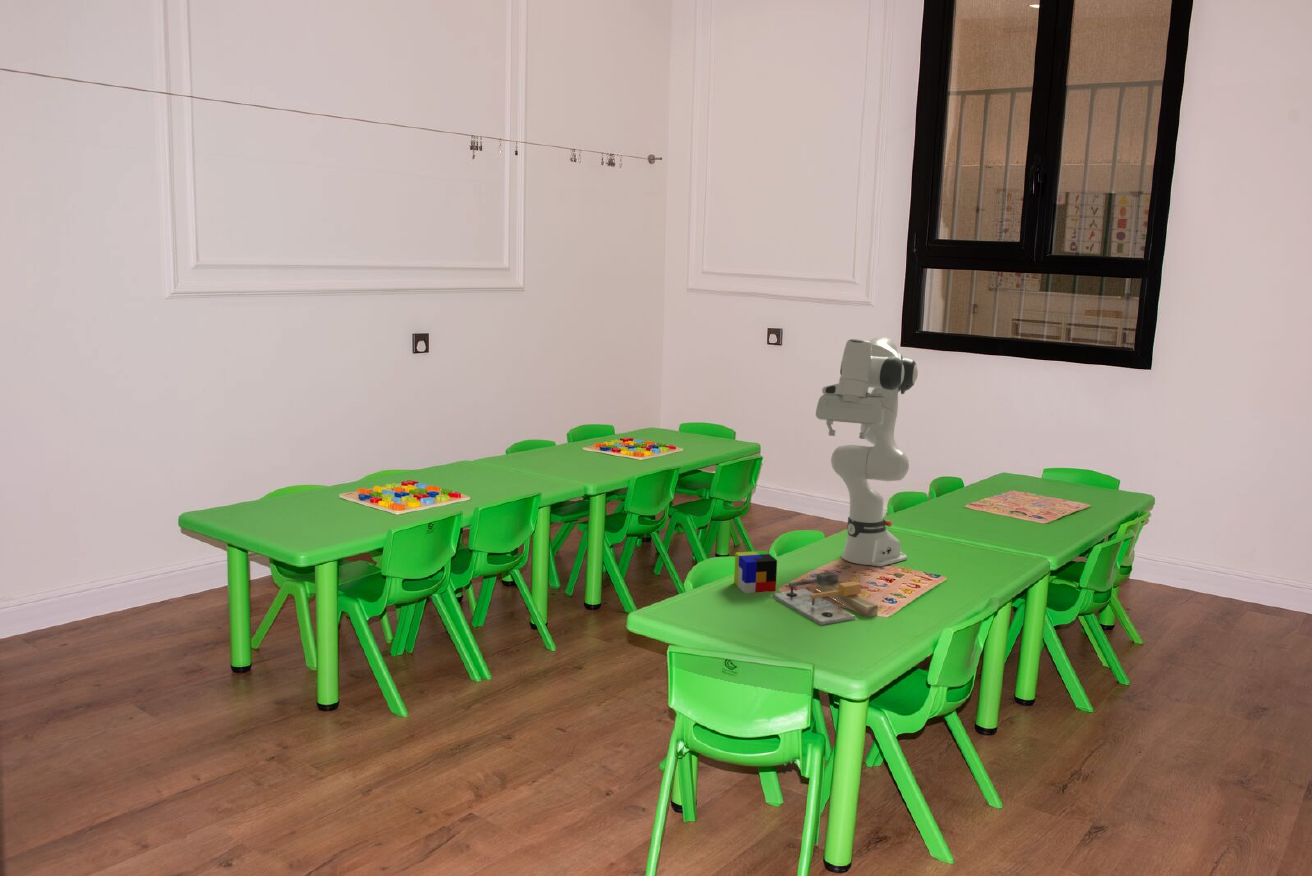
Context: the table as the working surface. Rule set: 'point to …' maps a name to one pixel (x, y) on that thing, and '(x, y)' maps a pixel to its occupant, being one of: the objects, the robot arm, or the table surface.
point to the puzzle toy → (755, 572)
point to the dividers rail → (829, 583)
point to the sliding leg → (840, 591)
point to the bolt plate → (813, 607)
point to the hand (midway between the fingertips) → (846, 437)
